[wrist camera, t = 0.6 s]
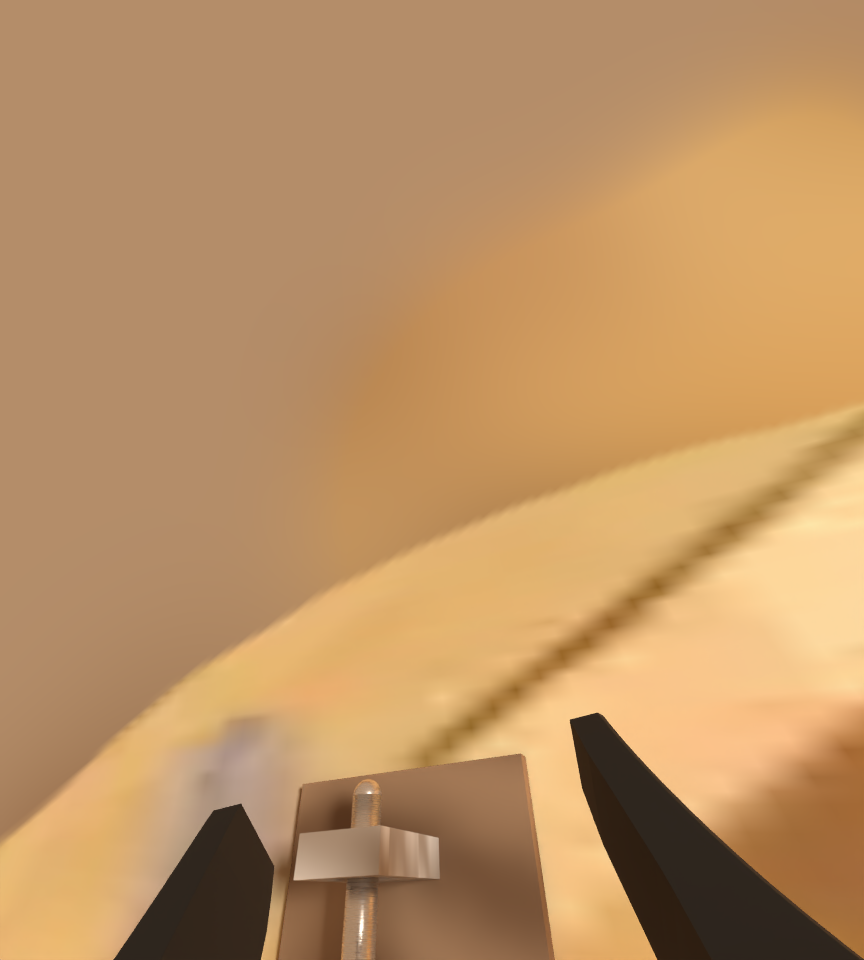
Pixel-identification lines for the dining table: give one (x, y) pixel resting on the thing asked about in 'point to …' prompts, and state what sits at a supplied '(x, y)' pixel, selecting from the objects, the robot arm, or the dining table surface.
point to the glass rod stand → (362, 882)
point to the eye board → (470, 868)
